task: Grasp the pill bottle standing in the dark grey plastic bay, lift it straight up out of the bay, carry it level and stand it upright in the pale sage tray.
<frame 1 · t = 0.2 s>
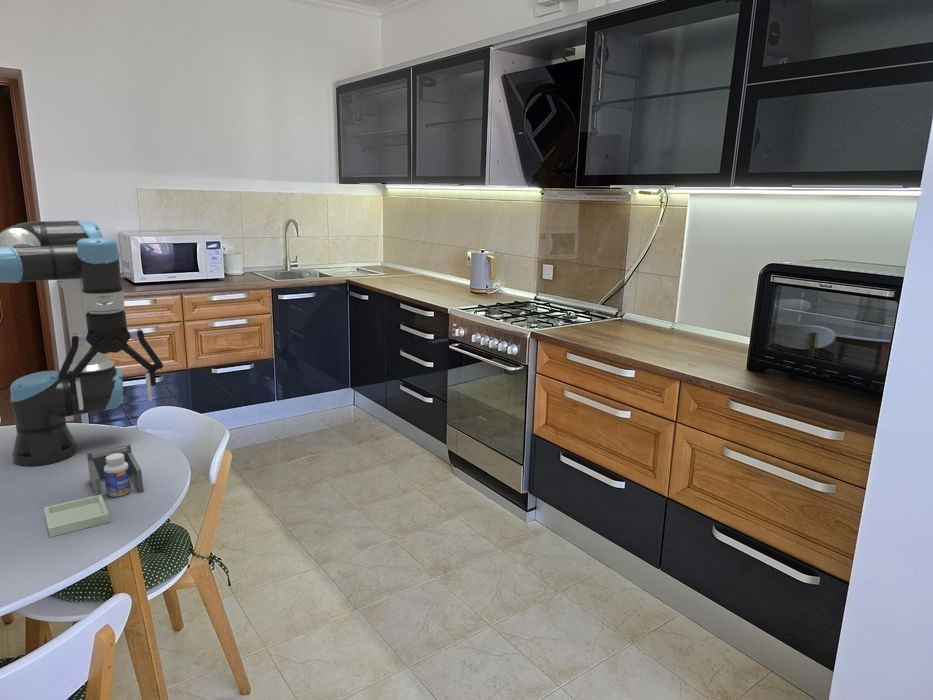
hand: (116, 403, 143), 27 cm above the table, fingers open, 13 cm apart
pill bottle: (119, 493, 159), on the table
tray: (77, 518, 146), on the table
bay: (116, 486, 162), on the table
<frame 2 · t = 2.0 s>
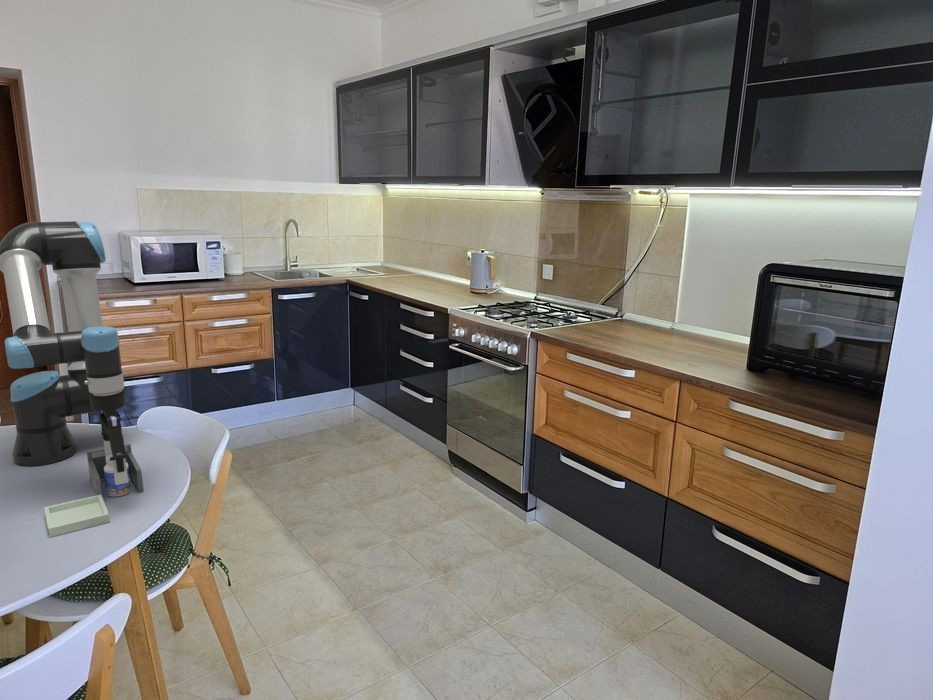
hand: (117, 473, 157), 5 cm above the table, fingers open, 13 cm apart
nothing on the table moved.
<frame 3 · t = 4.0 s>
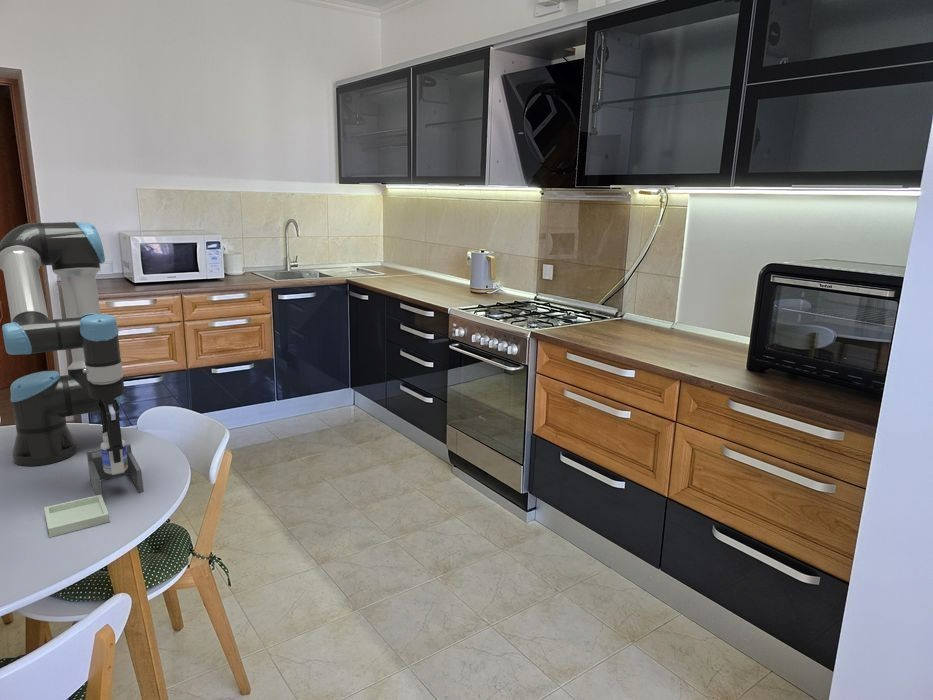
hand: (116, 468, 158), 6 cm above the table, fingers closed on pill bottle, 5 cm apart
pill bottle: (116, 470, 158), point 6 cm above the table, touching gripper
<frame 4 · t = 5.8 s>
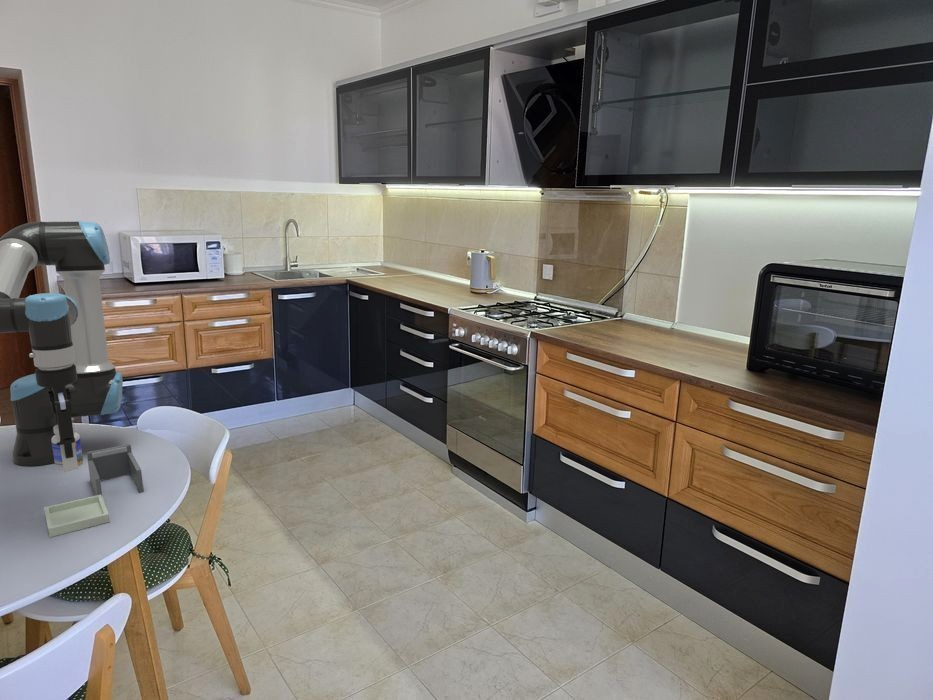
hand: (69, 464, 143), 13 cm above the table, fingers closed on pill bottle, 5 cm apart
pill bottle: (69, 467, 143), point 13 cm above the table, touching gripper
when the fingers open (2 cm above the table, at t = 8.0 s): pill bottle stays where it is, resting on tray.
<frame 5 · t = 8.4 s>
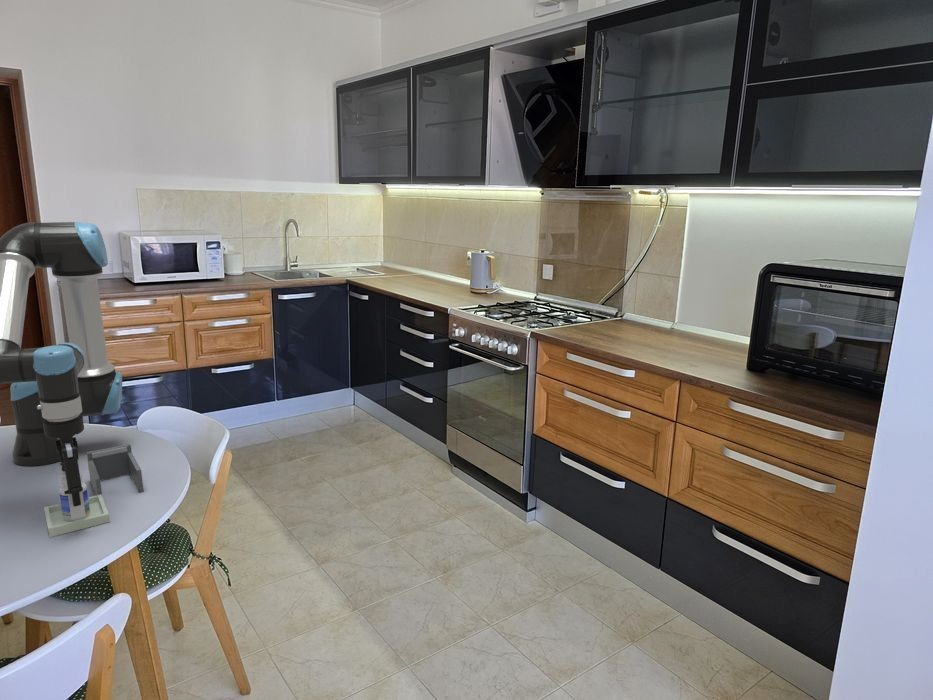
hand: (75, 507, 145), 3 cm above the table, fingers open, 10 cm apart
pill bottle: (77, 516, 146), resting on tray
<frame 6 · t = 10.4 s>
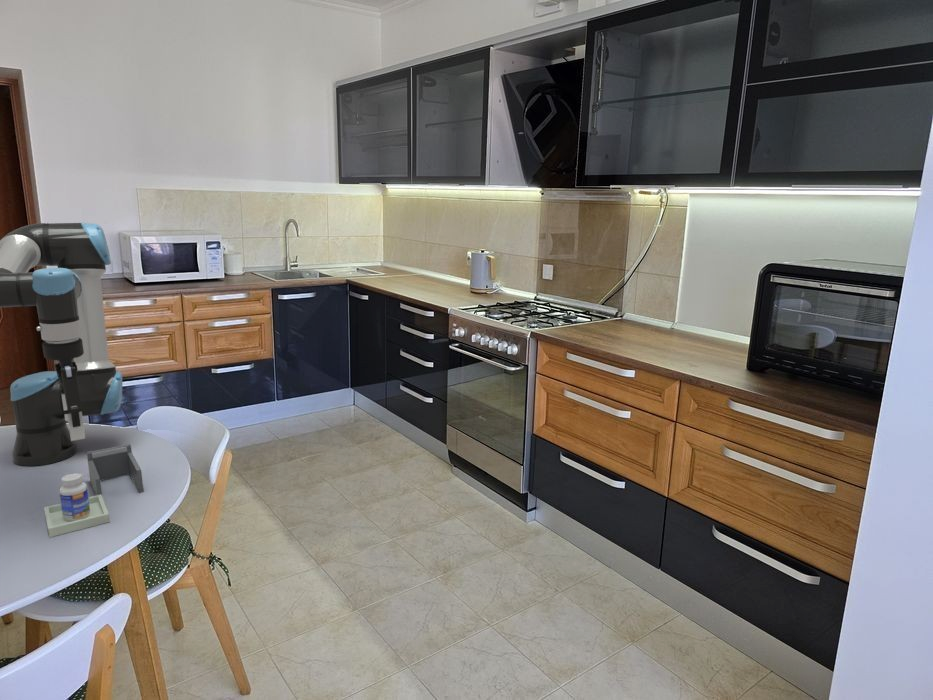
hand: (75, 429, 145), 20 cm above the table, fingers open, 13 cm apart
nothing on the table moved.
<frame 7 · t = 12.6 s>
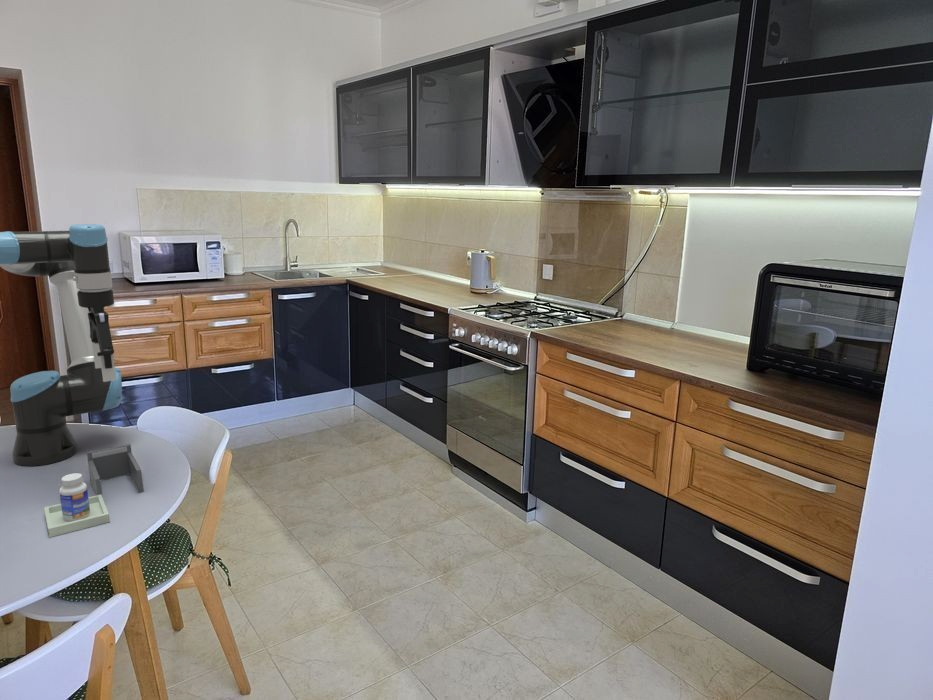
hand: (105, 374, 159), 29 cm above the table, fingers open, 13 cm apart
nothing on the table moved.
at the end: pill bottle inside the target area on the tray (0.2 cm from its centre), point 0.4 cm above the tray's base; pill bottle tilted 0°; the gripper is holding nothing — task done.
